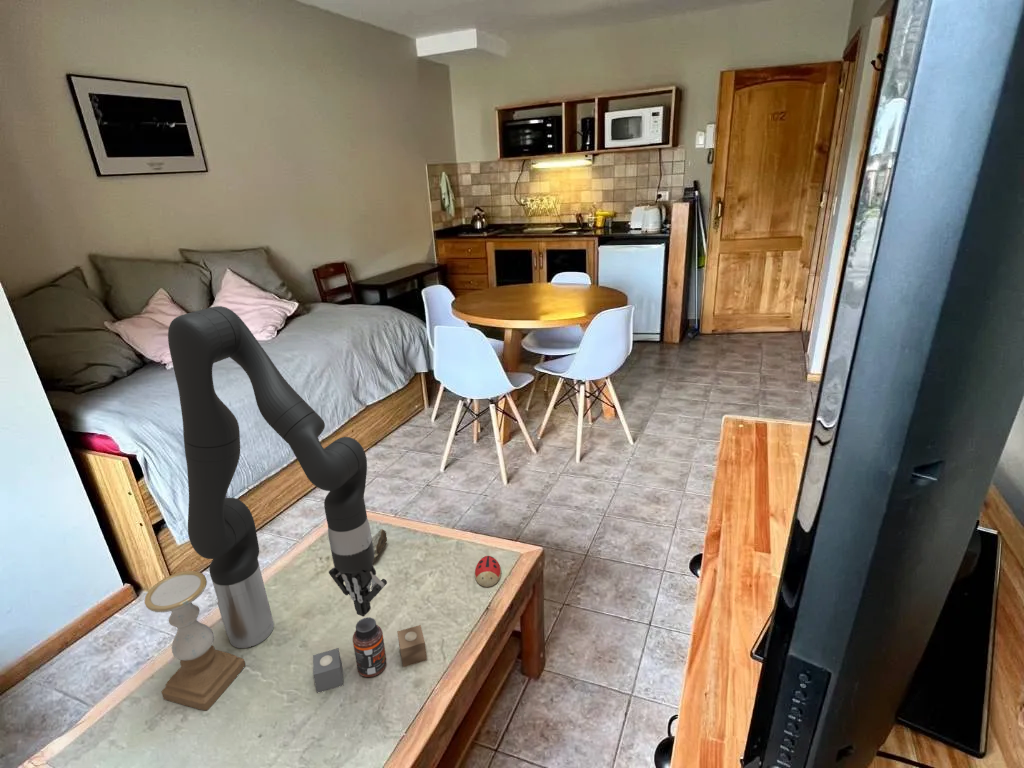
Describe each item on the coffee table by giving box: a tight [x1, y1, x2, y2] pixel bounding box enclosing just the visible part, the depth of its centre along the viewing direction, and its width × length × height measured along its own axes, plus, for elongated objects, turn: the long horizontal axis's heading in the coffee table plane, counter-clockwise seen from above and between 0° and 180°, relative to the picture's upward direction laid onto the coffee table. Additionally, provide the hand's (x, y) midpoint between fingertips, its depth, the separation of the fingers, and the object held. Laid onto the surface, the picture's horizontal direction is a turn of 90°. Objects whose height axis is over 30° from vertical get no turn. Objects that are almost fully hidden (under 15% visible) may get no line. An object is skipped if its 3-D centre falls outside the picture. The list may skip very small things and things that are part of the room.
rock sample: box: [372, 528, 388, 563], centre depth 146 cm, size 10×8×9 cm
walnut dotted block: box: [396, 624, 428, 668], centre depth 114 cm, size 5×5×5 cm
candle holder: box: [144, 570, 246, 711], centre depth 106 cm, size 11×11×24 cm
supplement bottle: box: [352, 616, 387, 678], centre depth 111 cm, size 6×6×11 cm
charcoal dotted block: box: [312, 647, 344, 694], centre depth 109 cm, size 5×5×5 cm
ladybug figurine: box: [474, 555, 502, 588], centre depth 137 cm, size 7×10×4 cm
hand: (363, 612), depth 108 cm, fingers closed
